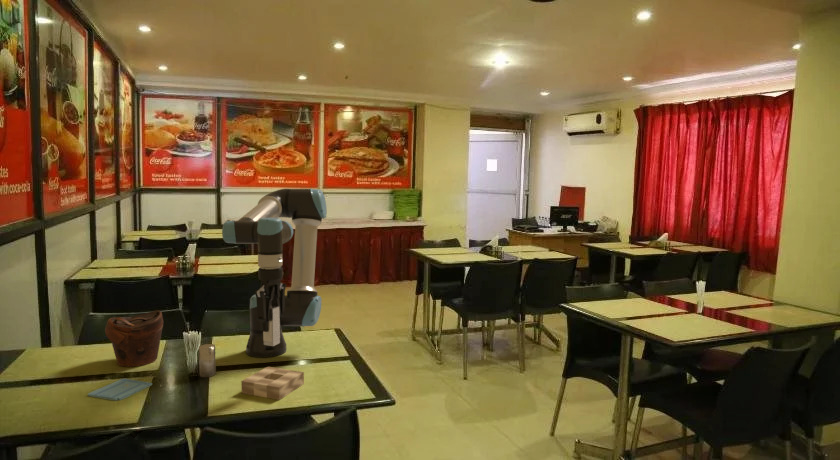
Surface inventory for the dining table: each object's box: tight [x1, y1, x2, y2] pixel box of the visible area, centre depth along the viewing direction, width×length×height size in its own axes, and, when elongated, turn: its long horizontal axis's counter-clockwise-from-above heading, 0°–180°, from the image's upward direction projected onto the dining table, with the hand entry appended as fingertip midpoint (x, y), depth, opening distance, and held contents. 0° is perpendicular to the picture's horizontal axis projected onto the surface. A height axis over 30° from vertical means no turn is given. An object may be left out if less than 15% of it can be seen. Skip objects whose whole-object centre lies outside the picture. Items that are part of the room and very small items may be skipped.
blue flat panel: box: [87, 378, 153, 402], centre depth 176 cm, size 14×12×1 cm
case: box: [104, 309, 164, 368], centre depth 201 cm, size 18×20×18 cm
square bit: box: [264, 306, 280, 346], centre depth 176 cm, size 4×4×12 cm
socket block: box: [240, 366, 305, 401], centre depth 179 cm, size 14×14×4 cm
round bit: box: [198, 343, 217, 378], centre depth 190 cm, size 5×5×10 cm
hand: (271, 338), depth 177 cm, fingers closed on square bit, 4 cm apart
